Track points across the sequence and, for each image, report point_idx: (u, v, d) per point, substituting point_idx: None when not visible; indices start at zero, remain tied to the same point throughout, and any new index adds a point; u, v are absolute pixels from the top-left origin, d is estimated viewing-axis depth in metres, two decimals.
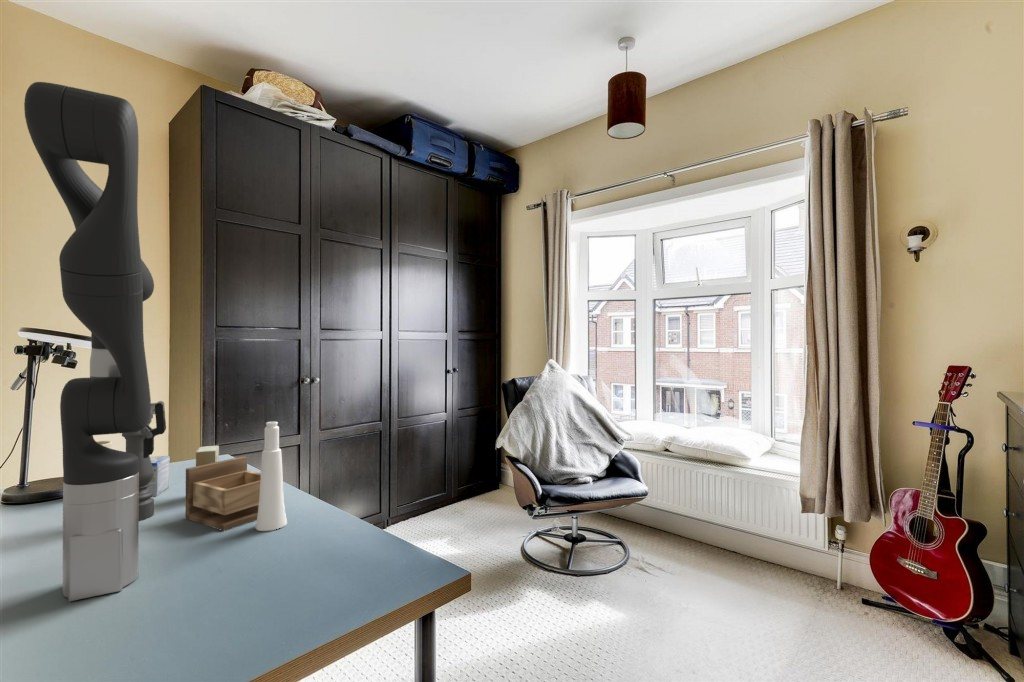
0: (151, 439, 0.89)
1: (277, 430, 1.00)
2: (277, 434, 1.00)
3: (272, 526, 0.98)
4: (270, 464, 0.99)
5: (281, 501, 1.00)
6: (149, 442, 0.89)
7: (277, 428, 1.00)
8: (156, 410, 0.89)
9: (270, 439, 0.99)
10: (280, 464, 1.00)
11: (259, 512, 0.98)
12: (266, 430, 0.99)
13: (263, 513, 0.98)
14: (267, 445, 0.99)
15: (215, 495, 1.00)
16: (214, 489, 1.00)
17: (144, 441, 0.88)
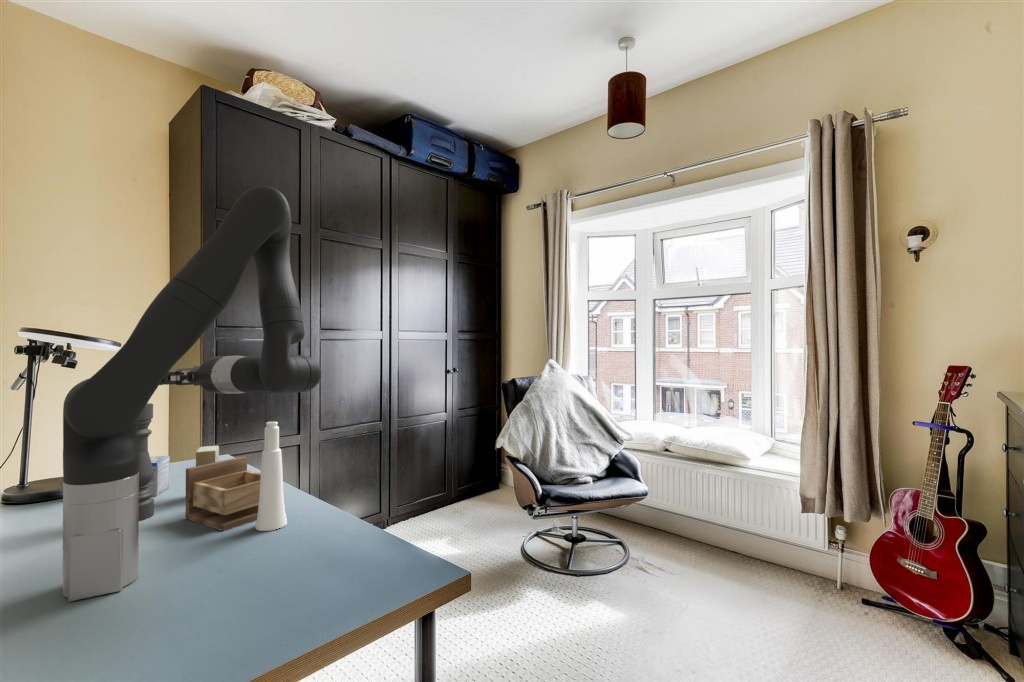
0: None
1: (277, 430, 1.00)
2: (277, 434, 1.00)
3: (272, 526, 0.98)
4: (270, 464, 0.99)
5: (281, 501, 1.00)
6: None
7: (277, 428, 1.00)
8: None
9: (270, 439, 0.99)
10: (280, 464, 1.00)
11: (259, 512, 0.98)
12: (266, 430, 0.99)
13: (263, 513, 0.98)
14: (267, 445, 0.99)
15: (215, 495, 1.00)
16: (214, 489, 1.00)
17: None
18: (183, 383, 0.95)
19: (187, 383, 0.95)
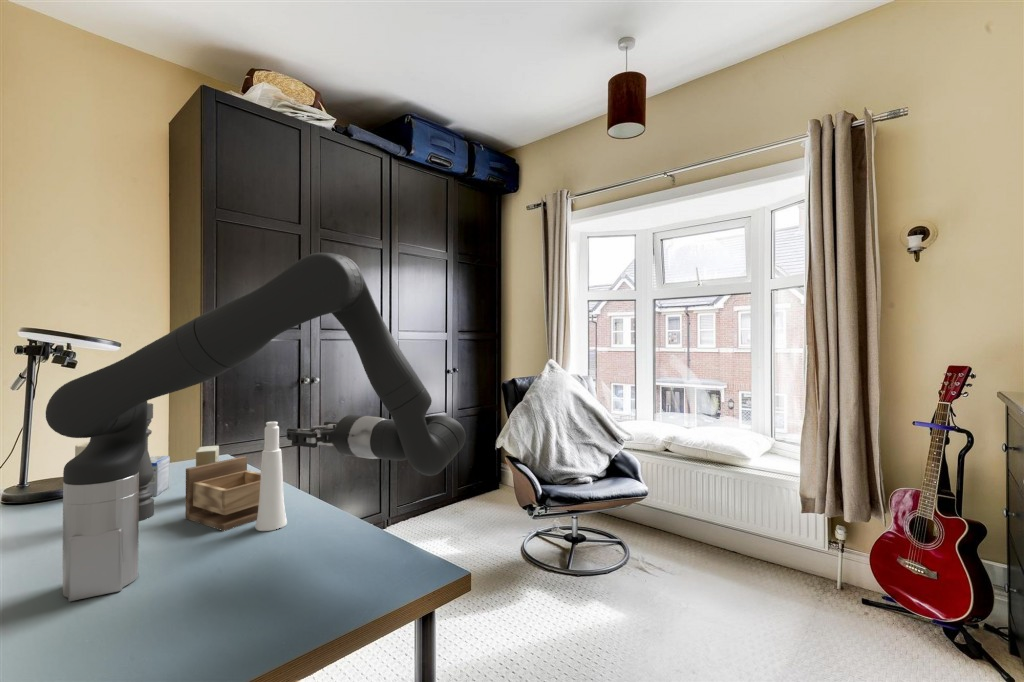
0: None
1: (277, 430, 1.00)
2: (277, 434, 1.00)
3: (272, 526, 0.98)
4: (270, 464, 0.99)
5: (281, 501, 1.00)
6: None
7: (277, 428, 1.00)
8: None
9: (270, 439, 0.99)
10: (280, 464, 1.00)
11: (259, 512, 0.98)
12: (266, 430, 0.99)
13: (263, 513, 0.98)
14: (267, 445, 0.99)
15: (215, 495, 1.00)
16: (214, 489, 1.00)
17: None
18: None
19: (320, 443, 0.89)
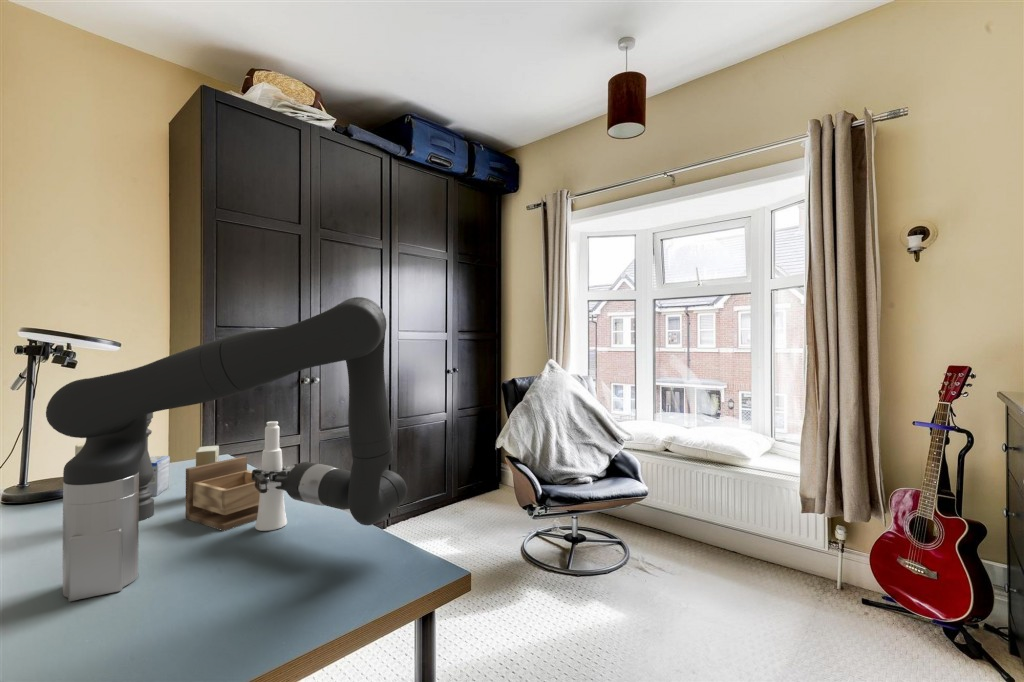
0: (260, 474, 0.98)
1: (277, 430, 1.00)
2: (277, 434, 1.00)
3: (272, 525, 0.98)
4: (270, 464, 0.99)
5: (281, 501, 1.00)
6: (260, 473, 0.98)
7: (277, 428, 1.00)
8: (265, 478, 0.93)
9: (270, 439, 0.99)
10: (280, 464, 1.00)
11: (259, 512, 0.98)
12: (266, 429, 0.99)
13: (263, 512, 0.98)
14: (267, 445, 0.99)
15: (215, 495, 1.00)
16: (214, 489, 1.00)
17: None
18: (273, 486, 0.96)
19: None
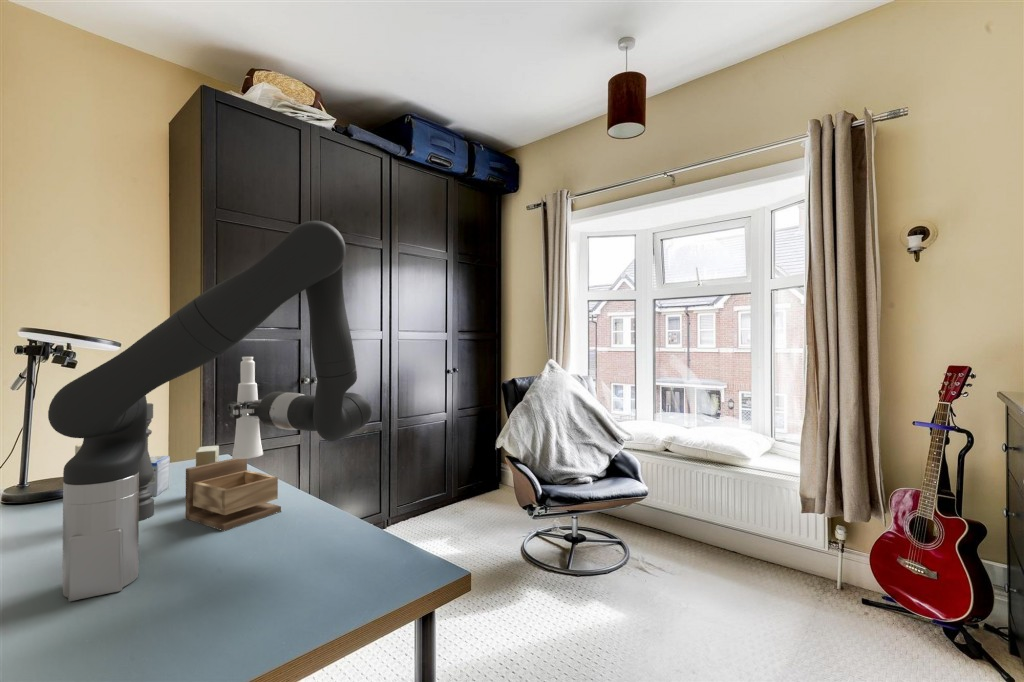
0: None
1: (252, 364, 1.05)
2: (252, 368, 1.05)
3: (248, 454, 1.02)
4: (245, 396, 1.03)
5: (257, 432, 1.04)
6: (235, 404, 1.03)
7: (252, 362, 1.05)
8: (238, 405, 0.97)
9: (245, 372, 1.04)
10: (256, 397, 1.05)
11: (235, 441, 1.03)
12: (241, 363, 1.04)
13: (239, 441, 1.02)
14: (243, 378, 1.04)
15: (215, 495, 1.00)
16: (214, 489, 1.00)
17: None
18: (247, 415, 1.00)
19: (250, 415, 1.00)
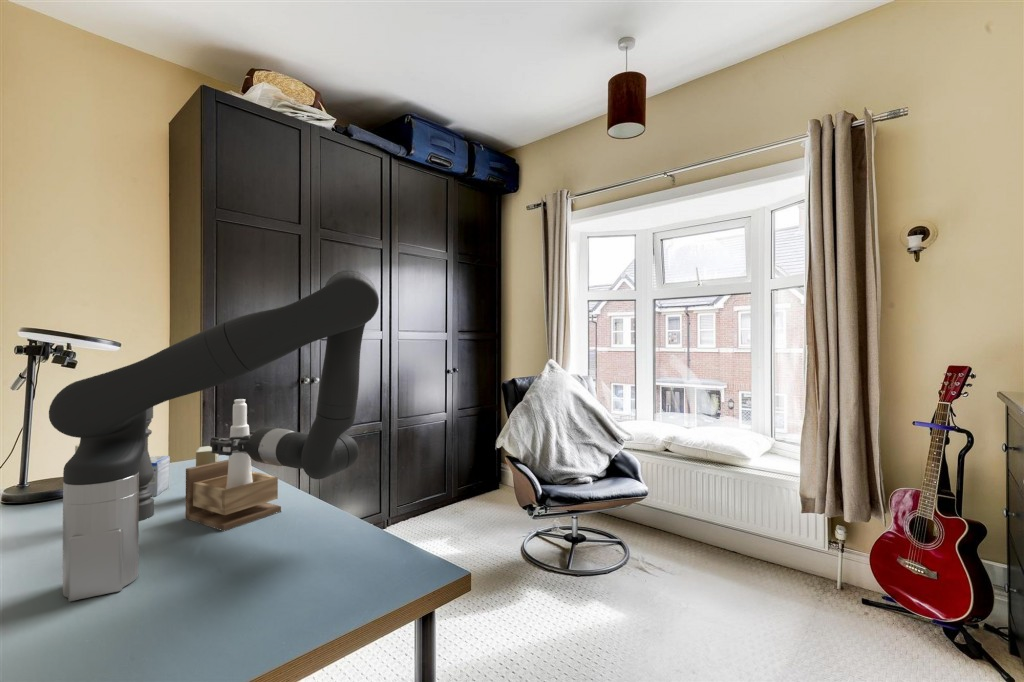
0: (217, 441, 1.01)
1: (244, 407, 1.06)
2: (244, 411, 1.07)
3: None
4: None
5: (248, 474, 1.06)
6: (217, 440, 1.02)
7: (244, 405, 1.07)
8: None
9: (237, 415, 1.06)
10: None
11: (227, 483, 1.05)
12: (233, 406, 1.06)
13: (230, 484, 1.04)
14: (235, 421, 1.06)
15: (215, 495, 1.00)
16: (214, 489, 1.00)
17: None
18: (234, 451, 1.01)
19: (238, 451, 1.01)
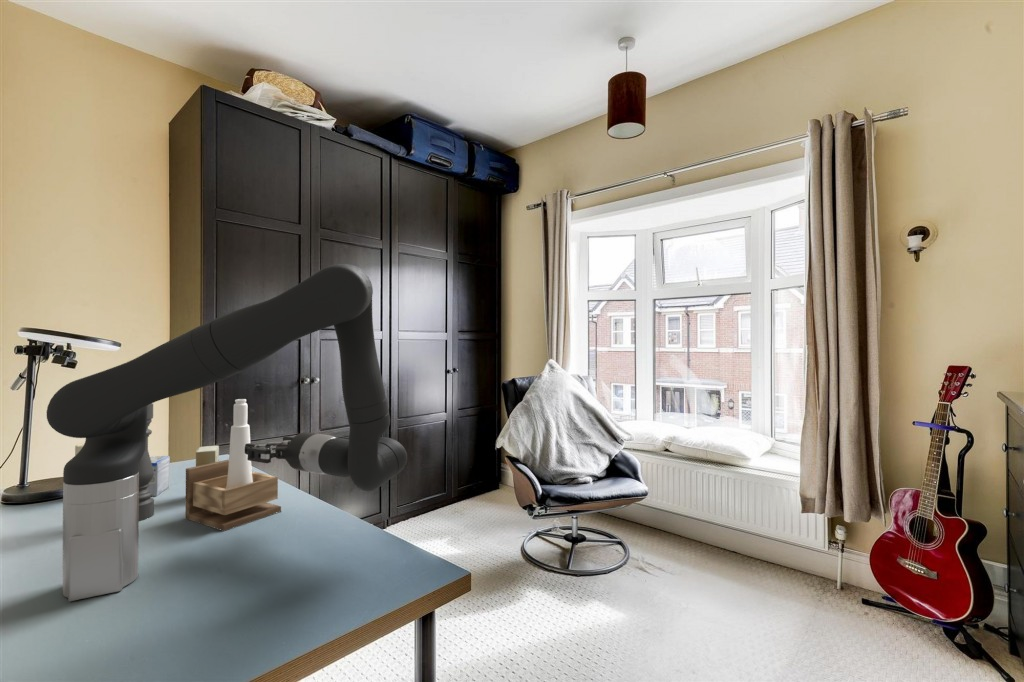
0: None
1: (245, 407, 1.06)
2: (245, 411, 1.07)
3: None
4: (237, 438, 1.05)
5: (248, 474, 1.06)
6: (253, 447, 0.96)
7: (245, 405, 1.07)
8: (266, 449, 0.92)
9: (238, 415, 1.06)
10: (248, 439, 1.07)
11: (227, 483, 1.05)
12: (234, 406, 1.06)
13: (230, 483, 1.04)
14: (235, 421, 1.06)
15: (215, 495, 1.00)
16: (214, 489, 1.00)
17: (257, 444, 0.96)
18: (271, 458, 0.95)
19: (275, 458, 0.95)
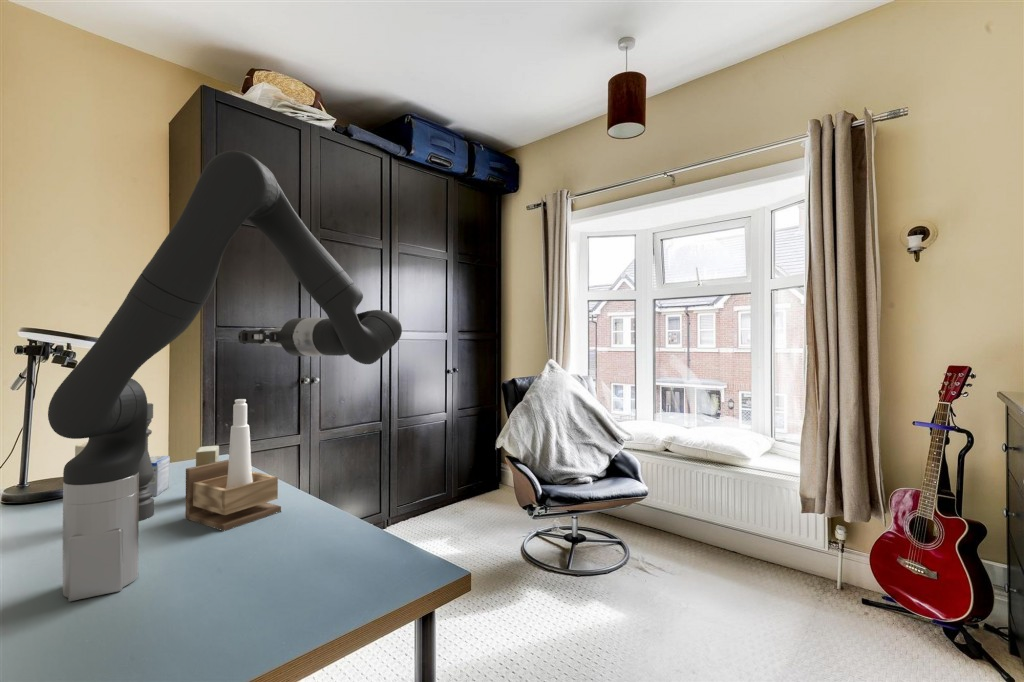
0: None
1: (244, 407, 1.06)
2: (245, 411, 1.07)
3: None
4: (237, 438, 1.05)
5: (248, 474, 1.06)
6: None
7: (245, 405, 1.07)
8: None
9: (238, 415, 1.06)
10: (247, 439, 1.07)
11: (227, 483, 1.05)
12: (234, 406, 1.06)
13: (230, 484, 1.04)
14: (235, 421, 1.06)
15: (215, 495, 1.00)
16: (214, 489, 1.00)
17: None
18: (265, 344, 0.93)
19: (269, 344, 0.93)
